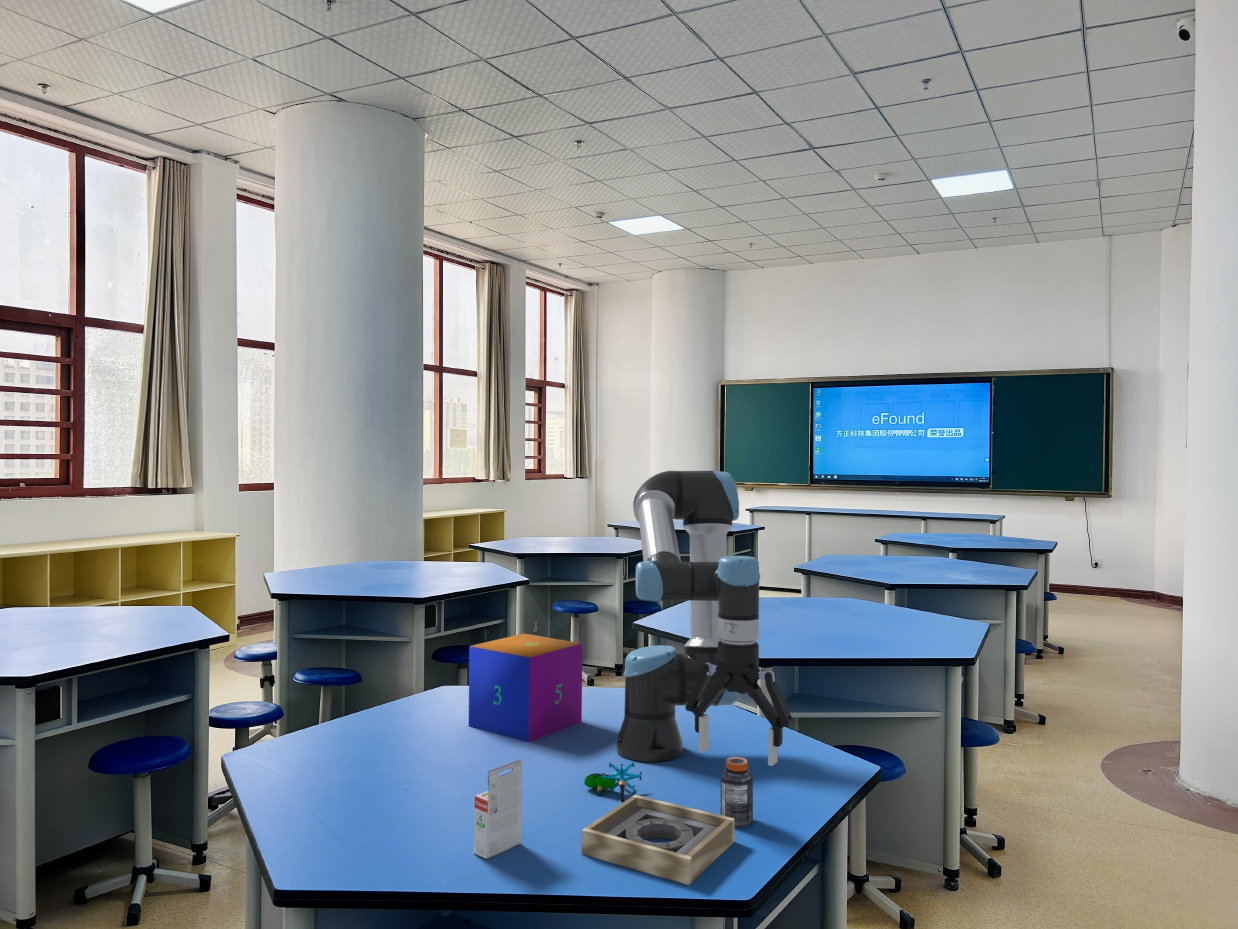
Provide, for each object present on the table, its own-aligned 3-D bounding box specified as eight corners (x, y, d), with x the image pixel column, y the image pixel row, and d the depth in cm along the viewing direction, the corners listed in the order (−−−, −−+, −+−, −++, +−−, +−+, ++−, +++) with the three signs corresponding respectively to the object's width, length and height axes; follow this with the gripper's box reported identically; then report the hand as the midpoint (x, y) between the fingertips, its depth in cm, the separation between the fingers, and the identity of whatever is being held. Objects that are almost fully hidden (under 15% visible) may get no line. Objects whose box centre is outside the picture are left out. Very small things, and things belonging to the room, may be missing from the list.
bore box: (581, 853, 142) (581, 830, 142) (634, 816, 158) (634, 794, 158) (688, 885, 132) (688, 859, 132) (734, 841, 147) (734, 818, 147)
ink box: (472, 854, 142) (473, 766, 142) (507, 838, 148) (508, 754, 148) (487, 860, 140) (487, 772, 140) (522, 844, 146) (523, 759, 146)
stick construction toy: (647, 777, 172) (635, 754, 168) (648, 807, 166) (636, 784, 162) (591, 789, 174) (578, 767, 170) (590, 820, 168) (577, 798, 164)
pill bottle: (733, 812, 160) (734, 752, 160) (759, 821, 156) (760, 760, 156) (713, 821, 156) (714, 759, 156) (739, 831, 152) (740, 768, 152)
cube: (523, 708, 227) (523, 633, 227) (581, 722, 215) (582, 643, 215) (468, 726, 211) (469, 646, 211) (528, 742, 199) (529, 657, 199)
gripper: (668, 637, 159) (667, 750, 159) (797, 652, 146) (796, 775, 146) (686, 631, 165) (685, 740, 165) (810, 644, 153) (810, 763, 152)
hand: (737, 757), depth 156 cm, fingers open, 13 cm apart
